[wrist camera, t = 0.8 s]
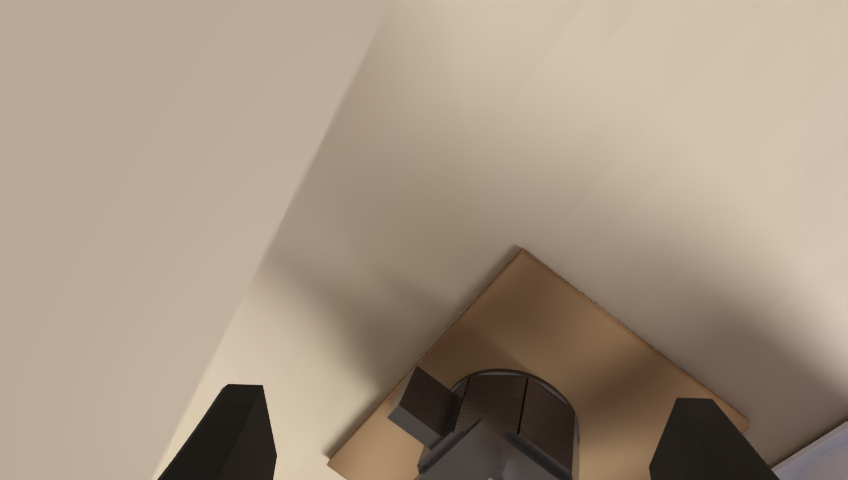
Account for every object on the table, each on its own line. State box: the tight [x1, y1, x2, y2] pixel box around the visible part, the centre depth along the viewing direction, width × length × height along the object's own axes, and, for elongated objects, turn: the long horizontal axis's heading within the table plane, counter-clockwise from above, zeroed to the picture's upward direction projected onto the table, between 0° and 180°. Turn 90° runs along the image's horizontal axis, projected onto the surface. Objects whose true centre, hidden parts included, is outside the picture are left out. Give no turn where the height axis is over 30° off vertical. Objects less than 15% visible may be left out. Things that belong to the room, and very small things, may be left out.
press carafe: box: [387, 365, 580, 480], centre depth 29 cm, size 9×7×5 cm
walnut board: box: [327, 249, 750, 480], centre depth 32 cm, size 13×18×1 cm
